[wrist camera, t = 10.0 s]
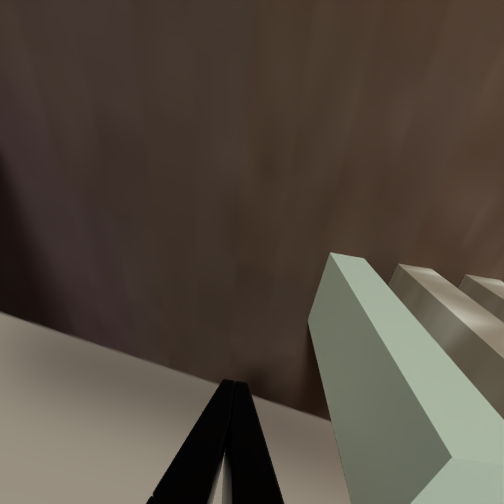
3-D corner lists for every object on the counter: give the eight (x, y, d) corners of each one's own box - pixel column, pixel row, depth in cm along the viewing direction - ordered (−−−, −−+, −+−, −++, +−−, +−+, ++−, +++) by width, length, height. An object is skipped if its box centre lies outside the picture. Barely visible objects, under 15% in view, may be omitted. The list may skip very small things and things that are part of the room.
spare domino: (363, 258, 14) (549, 472, 5) (337, 325, 16) (432, 565, 7) (330, 252, 14) (451, 456, 5) (307, 320, 16) (363, 555, 7)
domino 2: (431, 269, 14) (742, 500, 5) (397, 335, 16) (572, 585, 7) (397, 263, 14) (647, 486, 5) (368, 330, 16) (504, 576, 7)
